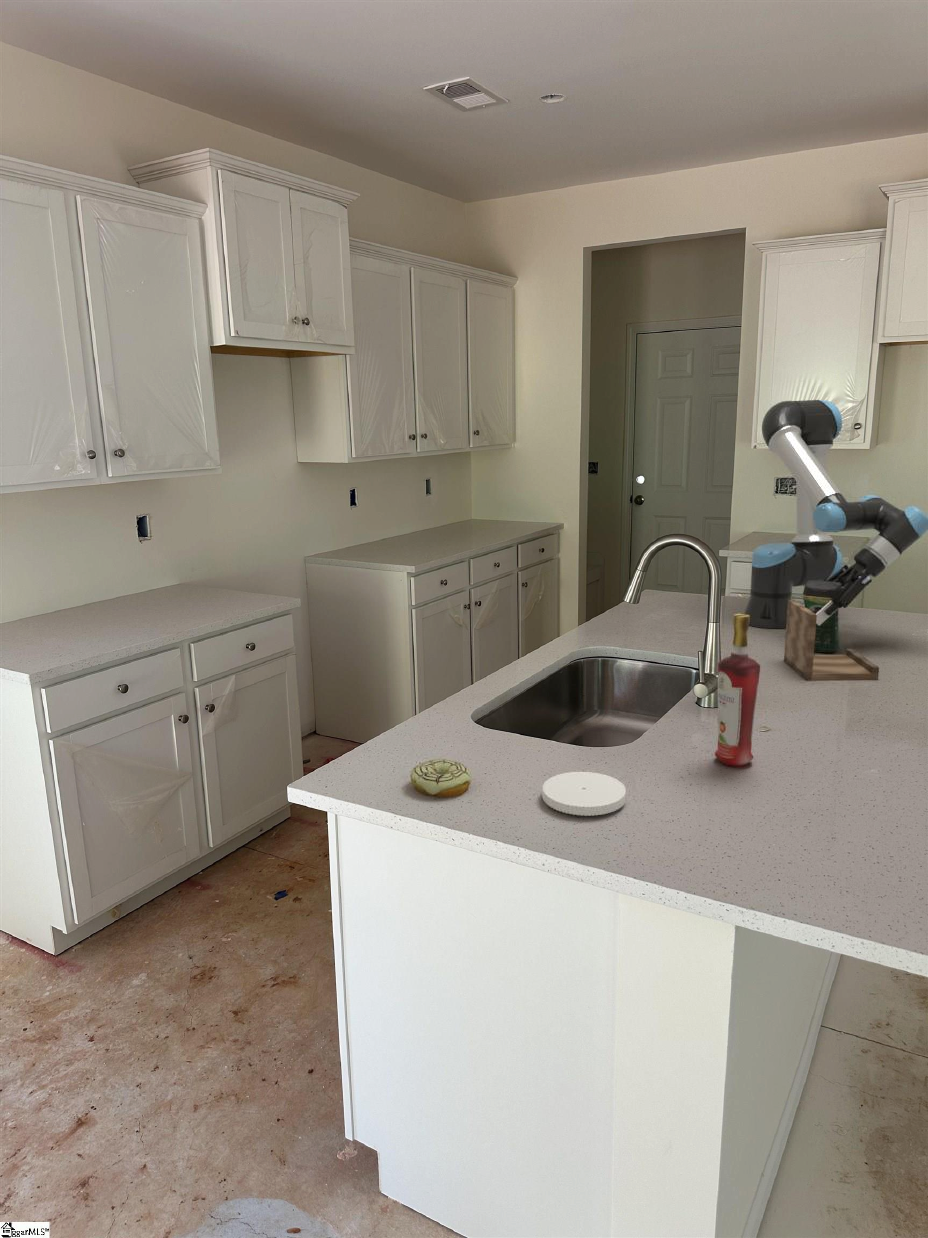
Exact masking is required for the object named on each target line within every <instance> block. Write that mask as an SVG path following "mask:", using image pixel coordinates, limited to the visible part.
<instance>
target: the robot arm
mask: <svg viewBox="0 0 928 1238" xmlns="http://www.w3.org/2000/svg"><path fill="white" fill-rule="evenodd" d="M842 429H843V418H842V414H841V411H840V409H839V408H838V406H836V405H835V403H833V402H832V401H829V400H823V399H811V400H810V399H809V400H805V399H804V400H784V401H780V402H777V403H775V404H774V405H773V406H771V407H770V408H769V409H768V410H767V411H766V413H765V415H764V417H763V419H762V423H761V433H762V438H763V440H764V442H765V444H766V446H767V448H768V449H769V450H770V451H771V452H772V453H776V454H777V455H778V457H779V458H780V459H781V461H782V462H783V464H784V466H785V467H786V468H787V470H788V471H789V472H790V474H791V475H792V478H794V480H795V481H796V482H795V483H796V486H795V488H796V495H795V497H796V535H795V537H793V538H792V540H791V543H789V542H773V543H766V544H761V545H759V546H757V547H756V548H755V549H754V550H753V553H752V558H751V559H752V560H751V562H750V563H751V576H750V578H751V579H750V594H749V595H750V596H749V599H748V601H747V604H746V606H745V609H744V611H743V613H742V614H747V615H749V616H750V617H749V626H751V627H755V628H763V629H786V623H787V608H788V600H793V597H792V594H793V587H794V588H795V587H803V586H804V587H805V584H806V582H808V581H810V580H818V581H831V582H839V583H841V585H842V589H841V591H840V592H839V593H838V595H837V596H836V598H831V600H832V601H833V602H834V603H833V602H832V601H830V602H828V603H827V604H826V605H825V606H824V607H823V608H822V609H821V610H820V611H818V612H817V613H816V615H817V618H816V623H817V624H818V625H819V626H820V625H821V624H822V623H823V622H824V621H825V620H826V619H827V618H828V617H830V616H831V615H832V614H833V613H834V612H835V611H836V610H837V609H838V608H839V609H842V608H844V609H846V608H847V607H848V606H849V605H850V604H851V603H852V602H853V601H854V600H855V599H856V598H857V596H858V595H859V594H860V593H861V592H863V590H864V589H865V588H866V587H867V586H869V584H870V583H872V581H873V580H872V578H870V577H873V578H876V577H877V576H879V575H880V574H881V573H882V572H883V571H885V569H886V566H889V565H891V564H892V563H893V562H896V561H897V558H898V557H900V555H902V554H903V553H904V552H905V551H906V550H907V549H908V548H910V547H911V546H912V545H913V544H914V543H915V542H917V541H918V540H919V539H921V538H922V536H923V535H924V534H925V533H926V532H927V531H928V515H927V513H925V512H924V511H922V510H921V509H920V508H918V507H917V506H915V505H914V506H913V505H910V506H908V507H907V508H905V509H904V510H901V509H900V508H898V507H896V506H895V505H893V504H891V503H890V502H888V501H887V500H886V499H884V498H882V497H879V496H877V495H874V494H868V495H865V496H864V497H862V498H860V499H859V500H858V501H847V499H846V498H845V496H844V495H843V494H842V493H841V491H840V490H839V489H838V486H837V485H836V483H834V482H833V480H832V478H831V477H830V476H829V474H828V453H829V450H831V449H832V447H833V446H834V440H835V439H837V437H838V436H840V432H841V431H842ZM863 530H865V531H866V530H875V531H876V532H878V534H876V536H875V537H873V538H872V539H871V540H869V542H868V543H867V544H866V545H865V547H866V548H865V547H864V548H861V550H860V551H859V552H857V553H856V554H855V555H854V557H853V560H854V561H855V563H854V564H852V565H851V566H849V565H847V564H844V565H843V555H842V552H840V548H839V547H838V546H836V545H835V544H834V539H833V538H832V536H831V535H829V533H839V532H848V531H863ZM803 606H804V604H803Z"/></svg>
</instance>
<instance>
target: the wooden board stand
mask: <svg viewBox="0 0 928 1238" xmlns="http://www.w3.org/2000/svg"><path fill="white" fill-rule="evenodd" d="M803 605H804V604H803ZM803 605H802V604H801V603H799V602H798V601H796V599H792V600H788V608H787V623H786V628H785V638H784V639H785V640H784V651H783V653H784V654H783V656H784V658H783V661H784V663H785V664H786V665H787V666H789V667H790V668H791V669H792V670H793V671H795V672H796V674H797V675H799V677H801V678H802V679H803V680H804V681H865V680H867V681H870V680H871V681H873V680H875V681H877V680H879V673H880V667H879V666H878V665H876V664H874V663H873V662H872V661H870V659H868V658H866V657H864V656H863V655H862V654H860V653H859V652H857V651H856V650H855V649H853V648H846V651H845V654H815V652H814V644H815V631H816V618H817V615H816V614H815V613H813V612H812V611H810V610H809V609H807V608H806V607H804V606H803Z"/></svg>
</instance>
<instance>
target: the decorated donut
mask: <svg viewBox="0 0 928 1238" xmlns="http://www.w3.org/2000/svg"><path fill="white" fill-rule="evenodd" d="M410 781H411V783H412V785H413V787H414V789H416V791H417V792H419V793H420V794H423V795H425V794H426V796H431V797H437V798H439V797H442V798H451V797H450V796H452V797H458V796H461V795H462V794H463V793H465V792H466V791H467V790H468V789H469V787H470V785H471V782H472V774H471V771H470V769H469V768H468V767H467V765H465V764H464V763H461V762H458V761H456V760H450V759H445V758H444V759H443V758H442V759H441V758H440V759H438V758H437V759H432V760H431V759H430V760H426V761H425V762H421V763H419V764H417V765H415V766H413V767H412V769H411V770H410Z"/></svg>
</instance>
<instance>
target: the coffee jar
mask: <svg viewBox="0 0 928 1238" xmlns="http://www.w3.org/2000/svg"><path fill="white" fill-rule="evenodd" d="M842 588H843V587H842V585H841V583H839V582H831V581H818V580H810V581H808V582H806V584H805V586H804V587H803V592H802V599H803V605H804V607H806V608H807V609H809V610H810V611H812V612H813V613H815V614H816V613H817V612H818V611H820V610H821V609H822V608H823V607H824V606H825V605H826V604H827V603H828V602H830V601H832V600H831V598H836V596H837V595H838V593H839V592H840V591H841V589H842ZM832 602H833V601H832ZM833 603H834V602H833ZM839 610H840V608H838V609H837V610H836V611H835V612H834V613H833V614H832V615H831V616H830V617H828V618H827V619H826V620H825V621H824V622H823V623H822V624H821V625H820V626H819V625H818V624H817V623H816V631H815V644H814V653H815V652H816V653H833V652H834V653H835V652H837V651H838V650H839V648H840V632H839V631H840V630H839V612H840V611H839Z"/></svg>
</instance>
